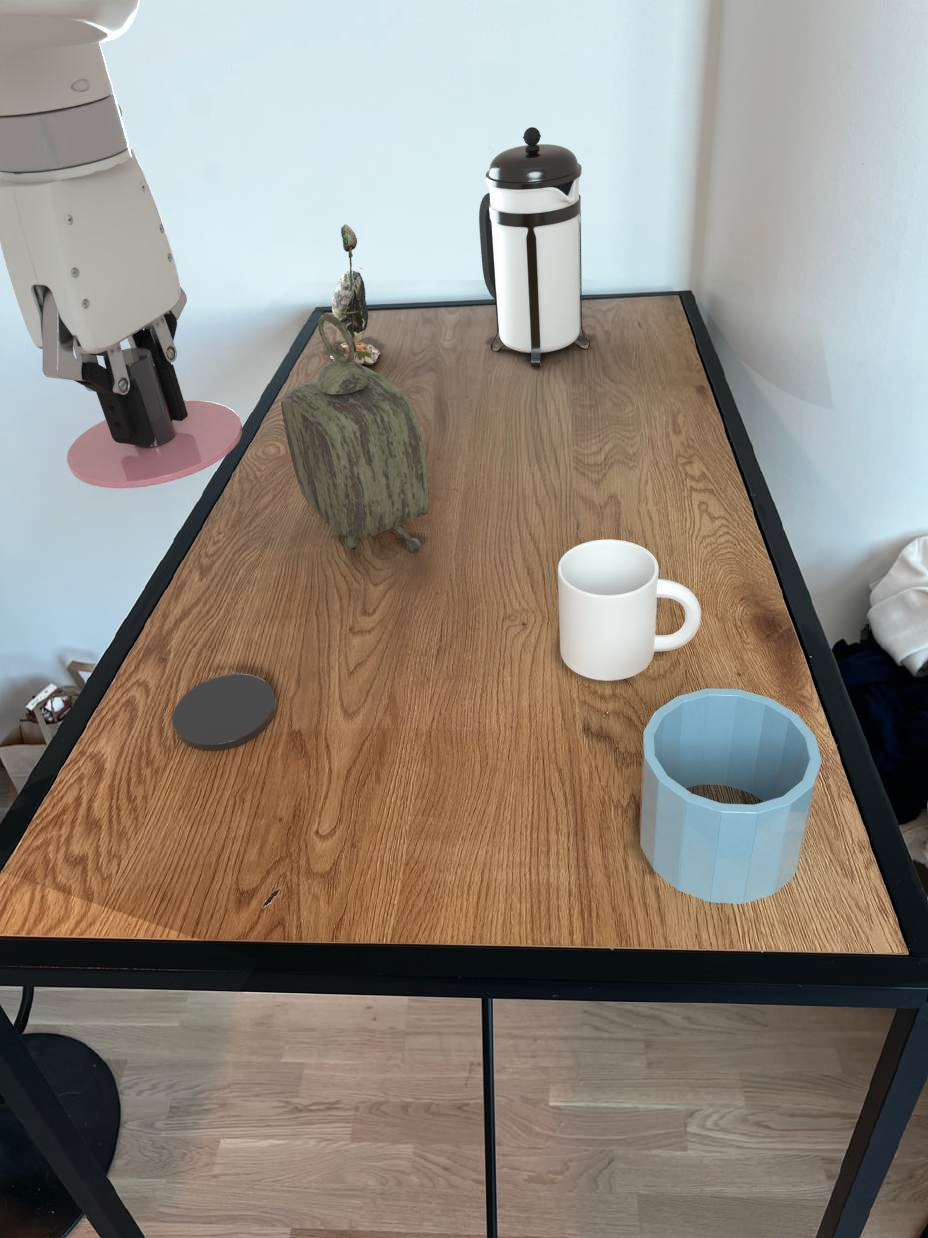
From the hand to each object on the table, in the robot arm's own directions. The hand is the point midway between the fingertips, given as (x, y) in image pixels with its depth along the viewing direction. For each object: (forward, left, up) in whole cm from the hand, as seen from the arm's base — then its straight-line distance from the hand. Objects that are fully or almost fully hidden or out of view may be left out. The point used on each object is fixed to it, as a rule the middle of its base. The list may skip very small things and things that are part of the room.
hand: (151, 427), depth 65 cm
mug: (+16, -30, -28) cm, 44 cm away
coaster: (0, +2, -28) cm, 28 cm away
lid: (0, 0, -1) cm, 1 cm away
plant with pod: (+74, +27, -28) cm, 84 cm away
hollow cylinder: (-2, -41, -28) cm, 50 cm away
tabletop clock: (+28, +2, -28) cm, 40 cm away
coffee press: (+82, +1, -28) cm, 87 cm away
